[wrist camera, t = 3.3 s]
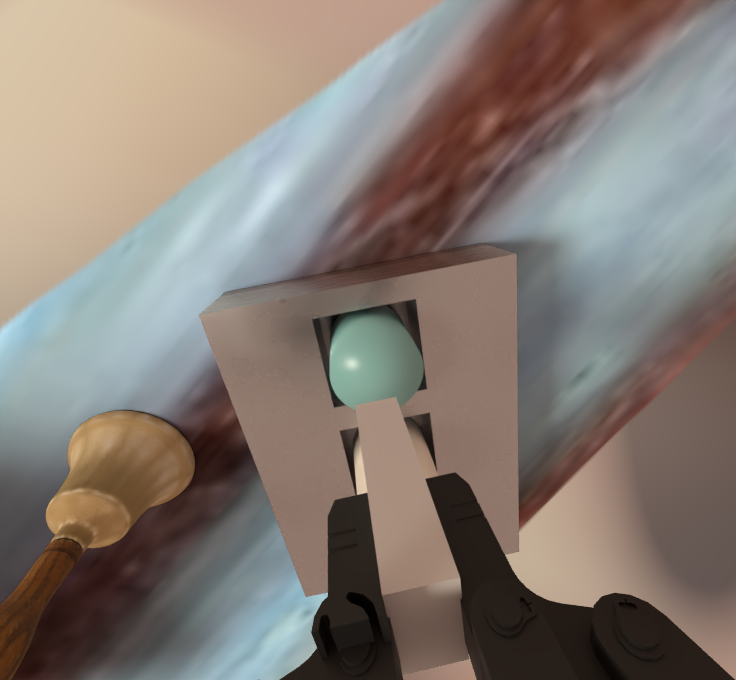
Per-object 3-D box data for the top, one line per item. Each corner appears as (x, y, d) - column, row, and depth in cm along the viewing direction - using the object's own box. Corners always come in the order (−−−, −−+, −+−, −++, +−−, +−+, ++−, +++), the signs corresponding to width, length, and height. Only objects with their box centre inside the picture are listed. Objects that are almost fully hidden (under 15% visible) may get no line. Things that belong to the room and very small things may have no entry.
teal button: (338, 379, 22) (339, 421, 18) (322, 310, 20) (319, 339, 16) (410, 364, 22) (428, 403, 18) (400, 295, 20) (417, 320, 16)
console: (309, 541, 30) (305, 596, 26) (224, 292, 21) (198, 315, 17) (493, 502, 30) (518, 551, 26) (481, 242, 22) (516, 253, 18)
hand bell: (94, 389, 23) (-329, 732, 8) (215, 441, 25) (52, 780, 11) (53, 476, 25) (-339, 870, 10) (168, 516, 28) (-21, 885, 13)
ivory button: (359, 475, 24) (365, 534, 20) (346, 419, 22) (349, 471, 18) (426, 462, 24) (445, 517, 20) (418, 405, 22) (438, 453, 18)
